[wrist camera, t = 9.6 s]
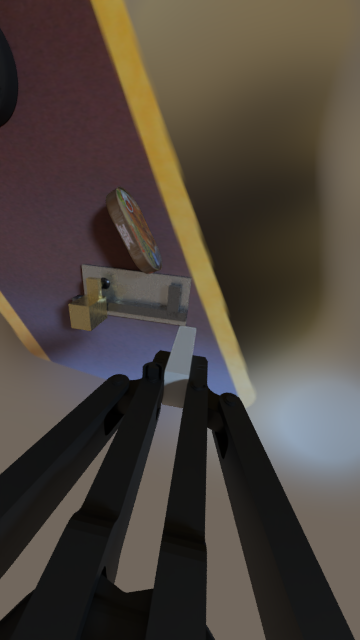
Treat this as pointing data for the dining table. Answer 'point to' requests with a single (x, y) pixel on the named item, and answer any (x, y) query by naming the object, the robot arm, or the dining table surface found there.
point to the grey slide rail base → (150, 307)
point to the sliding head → (89, 307)
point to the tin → (133, 230)
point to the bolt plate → (138, 288)
